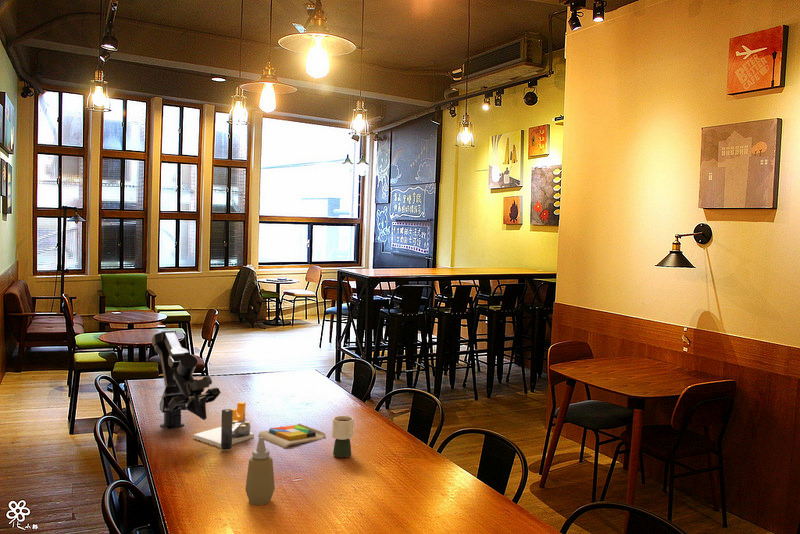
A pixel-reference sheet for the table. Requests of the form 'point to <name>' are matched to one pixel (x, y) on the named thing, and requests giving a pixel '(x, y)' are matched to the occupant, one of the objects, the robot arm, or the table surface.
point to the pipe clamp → (239, 412)
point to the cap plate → (218, 437)
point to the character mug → (342, 435)
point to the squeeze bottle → (260, 476)
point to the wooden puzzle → (291, 435)
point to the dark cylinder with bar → (232, 429)
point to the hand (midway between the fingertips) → (205, 419)
